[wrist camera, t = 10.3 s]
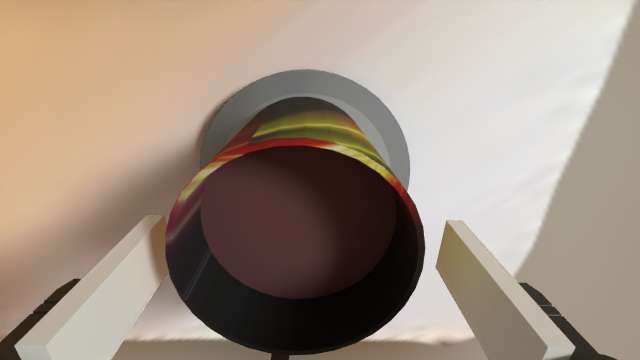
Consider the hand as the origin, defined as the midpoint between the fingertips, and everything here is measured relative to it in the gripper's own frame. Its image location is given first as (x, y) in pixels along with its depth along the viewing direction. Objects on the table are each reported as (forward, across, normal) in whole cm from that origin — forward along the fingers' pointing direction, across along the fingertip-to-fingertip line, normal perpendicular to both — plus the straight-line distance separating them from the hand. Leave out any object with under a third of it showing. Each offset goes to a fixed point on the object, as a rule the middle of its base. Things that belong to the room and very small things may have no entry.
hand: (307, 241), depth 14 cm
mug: (+9, 0, -1) cm, 9 cm away
